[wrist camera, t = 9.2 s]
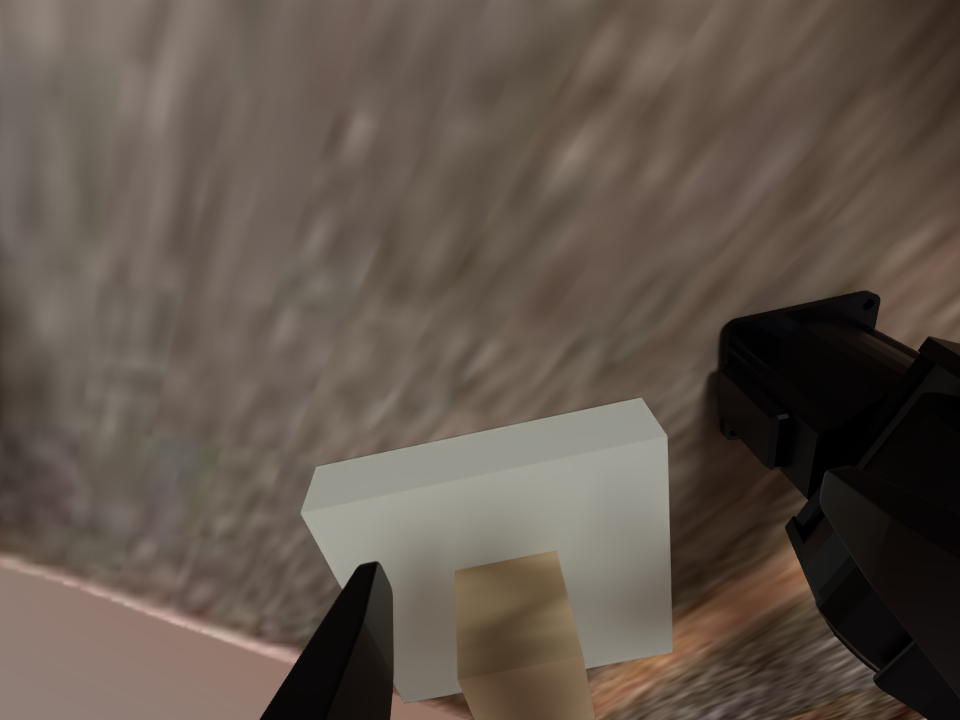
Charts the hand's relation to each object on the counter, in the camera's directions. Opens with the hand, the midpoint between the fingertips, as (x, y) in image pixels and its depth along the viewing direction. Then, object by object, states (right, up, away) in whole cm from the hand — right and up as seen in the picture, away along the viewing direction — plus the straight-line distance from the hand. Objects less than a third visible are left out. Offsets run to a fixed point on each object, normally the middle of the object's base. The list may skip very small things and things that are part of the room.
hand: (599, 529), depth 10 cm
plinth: (-1, -7, +17) cm, 19 cm away
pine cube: (-1, -8, +15) cm, 17 cm away
